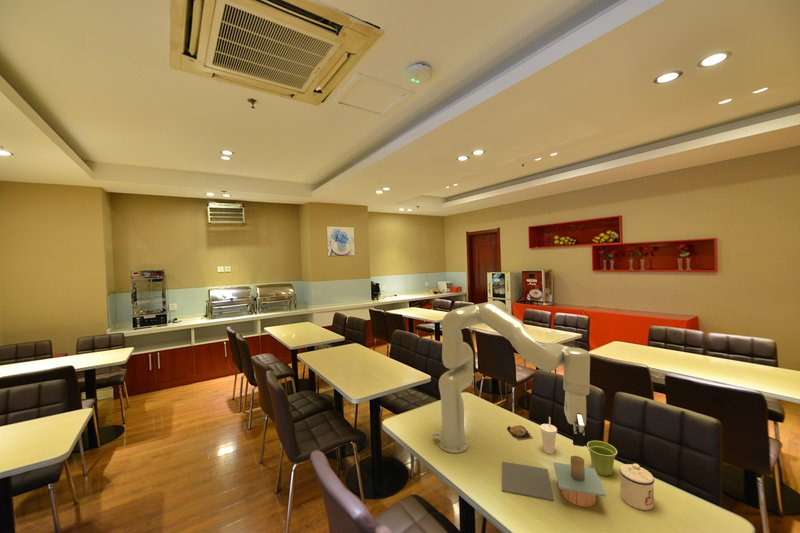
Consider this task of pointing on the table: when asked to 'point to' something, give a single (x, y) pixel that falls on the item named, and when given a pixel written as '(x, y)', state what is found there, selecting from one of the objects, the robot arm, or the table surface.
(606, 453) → the plant pot
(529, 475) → the mat
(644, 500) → the teacup with lid
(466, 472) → the table surface
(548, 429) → the smoothie
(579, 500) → the bowl
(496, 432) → the table surface
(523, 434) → the bread roll
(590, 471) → the cover sheet
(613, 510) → the table surface
